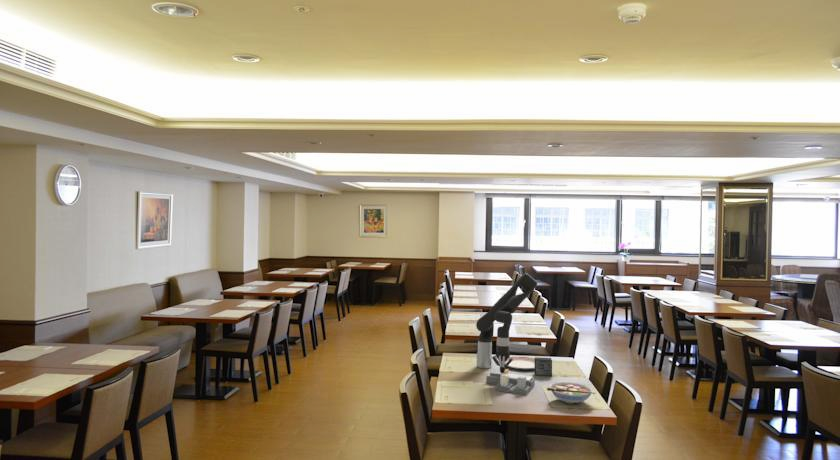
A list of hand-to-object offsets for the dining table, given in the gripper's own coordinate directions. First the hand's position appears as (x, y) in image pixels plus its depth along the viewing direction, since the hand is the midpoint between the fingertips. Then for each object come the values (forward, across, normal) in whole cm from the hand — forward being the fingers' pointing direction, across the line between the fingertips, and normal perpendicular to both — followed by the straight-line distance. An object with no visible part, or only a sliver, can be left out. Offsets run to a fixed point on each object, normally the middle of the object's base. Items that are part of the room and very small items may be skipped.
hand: (502, 372), depth 325 cm
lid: (+2, -9, 0) cm, 9 cm away
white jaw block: (+5, -5, +11) cm, 13 cm away
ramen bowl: (+6, -43, +15) cm, 46 cm away
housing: (+6, -5, +6) cm, 10 cm away
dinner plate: (+6, -2, -43) cm, 44 cm away
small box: (+6, -18, -30) cm, 35 cm away
